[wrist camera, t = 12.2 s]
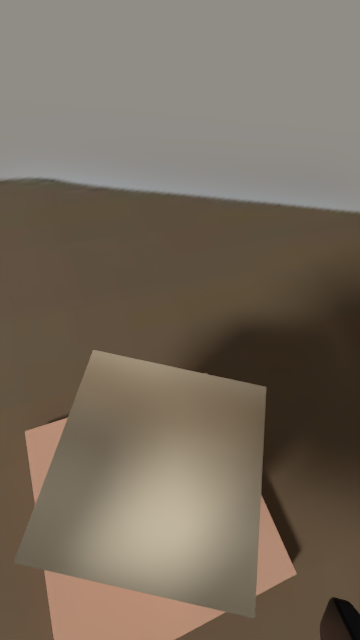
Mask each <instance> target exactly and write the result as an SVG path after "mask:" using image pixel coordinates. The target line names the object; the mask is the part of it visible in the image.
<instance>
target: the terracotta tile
mask: <svg viewBox="0 0 360 640" xmlns="http://www.w3.org/2000/svg"><path fill="white" fill-rule="evenodd" d="M204 374H207V373H204ZM67 419H68V418H65V419H62V420H59V421H56V422H52V423H49V424H46V425H43V426H40V427H37V428H34V429H31V430H28V431H25V436H26V443H27V451H28V458H29V465H30V472H31V479H32V486H33V493H34V501H35V504H36V501H37V499H38V496H39V493H40V491H41V488H42V485H43V483H44V480H45V477H46V475H47V472H48V469H49V467H50V464H51V461H52V459H53V456H54V453H55V451H56V448H57V445H58V443H59V440H60V437H61V435H62V432H63V429H64V427H65V424H66V421H67ZM44 572H45V579H46V586H47V593H48V600H49V608H50V615H51V622H52V629H53V636H54V640H175V639H177V638H179V637H180V636H182V635H184V634H186V633H188V632H190V631H192V630H193V629H195V628H197V627H199V626H201V625H203V624H205V623H206V622H208V621H210V620H212V619H214V618H216V617H218V616H219V615H221V614H223V613H225V612H224V611H220V610H215V609H211V608H207V607H202V606H198V605H194V604H189V603H185V602H181V601H176V600H172V599H168V598H163V597H159V596H155V595H150V594H146V593H142V592H137V591H133V590H129V589H124V588H120V587H116V586H111V585H107V584H103V583H98V582H94V581H90V580H85V579H81V578H77V577H72V576H68V575H64V574H59V573H55V572H51V571H46V570H44ZM294 575H296V571H295V569H294V567H293V565H292V562H291V560H290V558H289V556H288V553H287V551H286V549H285V547H284V544H283V542H282V540H281V538H280V535H279V533H278V531H277V529H276V526H275V524H274V522H273V520H272V517H271V515H270V513H269V511H268V508H267V506H266V504H265V502H264V499H263V497H262V495H261V505H260V525H259V545H258V565H257V585H256V596H257V595H258V594H260V593H262V592H264V591H266V590H268V589H270V588H271V587H273V586H275V585H277V584H279V583H281V582H283V581H284V580H286V579H288V578H290V577H292V576H294Z"/></svg>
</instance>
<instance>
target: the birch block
mask: <svg viewBox="0 0 360 640" xmlns="http://www.w3.org/2000/svg"><path fill="white" fill-rule="evenodd" d="M265 406H266V387H265V386H260V385H255V384H250V383H246V382H241V381H236V380H232V379H227V378H222V377H218V376H213V375H208V374H204V373H199V372H194V371H189V370H185V369H180V368H175V367H171V366H166V365H161V364H157V363H152V362H147V361H143V360H138V359H133V358H129V357H124V356H119V355H114V354H110V353H105V352H100V351H96V350H93V352H92V355H91V357H90V360H89V363H88V365H87V368H86V371H85V373H84V376H83V379H82V381H81V384H80V387H79V389H78V392H77V395H76V397H75V400H74V403H73V405H72V408H71V411H70V413H69V416H68V419H67V421H66V424H65V427H64V429H63V432H62V435H61V437H60V440H59V443H58V445H57V448H56V451H55V453H54V456H53V459H52V461H51V464H50V467H49V469H48V472H47V475H46V477H45V480H44V483H43V485H42V488H41V491H40V493H39V496H38V499H37V501H36V504H35V507H34V509H33V512H32V515H31V517H30V520H29V523H28V525H27V528H26V531H25V533H24V536H23V539H22V541H21V544H20V547H19V549H18V552H17V555H16V557H15V560H14V563H16V564H20V565H25V566H29V567H33V568H38V569H42V570H46V571H51V572H55V573H59V574H64V575H68V576H72V577H77V578H81V579H85V580H90V581H94V582H98V583H103V584H107V585H111V586H116V587H120V588H124V589H129V590H133V591H137V592H142V593H146V594H150V595H155V596H159V597H163V598H168V599H172V600H176V601H181V602H185V603H189V604H194V605H198V606H202V607H207V608H211V609H215V610H220V611H224V612H228V613H233V614H237V615H241V616H245V617H250V618H254V619H255V605H256V585H257V565H258V545H259V525H260V505H261V485H262V465H263V445H264V425H265Z"/></svg>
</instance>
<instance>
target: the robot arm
mask: <svg viewBox="0 0 360 640" xmlns="http://www.w3.org/2000/svg"><path fill="white" fill-rule="evenodd" d="M320 637H321V640H360V614H359V613H358V611H357V610H356V609H355V608H354V607H353V605H352V604H351V603H350V602H348V601H346V600H342V599H338V598H335V597H332V598H331V599H330V600H329V602H328V604H327V607H326V609H325V612H324V615H323V617H322V620H321V623H320Z"/></svg>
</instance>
